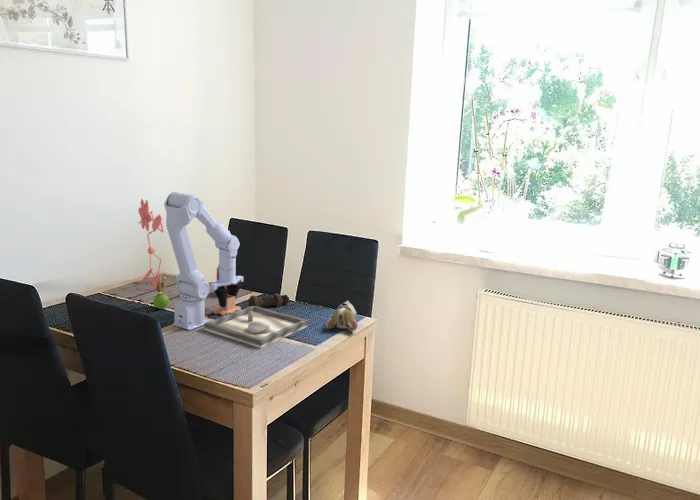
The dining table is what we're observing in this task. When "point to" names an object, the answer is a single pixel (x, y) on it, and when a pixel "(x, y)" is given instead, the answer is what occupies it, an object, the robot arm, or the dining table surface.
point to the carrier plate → (256, 318)
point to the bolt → (268, 300)
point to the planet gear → (227, 307)
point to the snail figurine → (161, 295)
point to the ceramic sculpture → (343, 317)
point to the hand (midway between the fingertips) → (227, 305)
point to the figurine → (155, 225)
